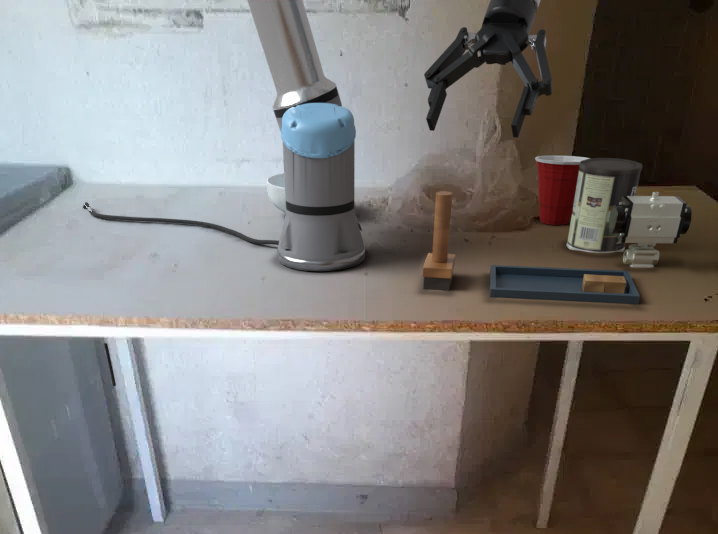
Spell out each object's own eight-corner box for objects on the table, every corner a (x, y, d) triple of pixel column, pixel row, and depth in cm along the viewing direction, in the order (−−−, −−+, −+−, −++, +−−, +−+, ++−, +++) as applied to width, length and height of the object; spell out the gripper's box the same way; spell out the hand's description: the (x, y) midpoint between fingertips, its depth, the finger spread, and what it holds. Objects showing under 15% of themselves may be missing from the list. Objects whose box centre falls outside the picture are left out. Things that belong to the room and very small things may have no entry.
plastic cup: (582, 215, 150) (593, 151, 143) (582, 230, 141) (594, 163, 134) (528, 212, 152) (536, 149, 145) (525, 226, 143) (534, 160, 136)
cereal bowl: (333, 229, 143) (333, 191, 139) (255, 222, 147) (253, 185, 143) (358, 207, 156) (359, 172, 152) (286, 202, 161) (284, 168, 156)
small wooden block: (603, 293, 111) (605, 281, 110) (601, 286, 114) (604, 275, 113) (623, 294, 111) (626, 282, 110) (621, 287, 113) (624, 276, 112)
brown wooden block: (583, 292, 112) (585, 280, 111) (581, 285, 114) (584, 274, 113) (603, 293, 111) (605, 281, 110) (601, 286, 114) (604, 275, 113)
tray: (489, 300, 111) (490, 289, 110) (489, 275, 120) (490, 264, 119) (637, 308, 108) (640, 296, 107) (625, 281, 117) (628, 270, 116)
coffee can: (621, 240, 135) (638, 158, 127) (627, 257, 127) (646, 170, 119) (564, 237, 137) (577, 156, 129) (566, 254, 129) (581, 168, 121)
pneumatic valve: (600, 262, 125) (614, 188, 118) (669, 263, 124) (688, 188, 117) (607, 273, 121) (623, 196, 114) (679, 274, 120) (700, 197, 113)
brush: (421, 292, 114) (426, 198, 106) (426, 277, 120) (432, 186, 112) (449, 294, 113) (457, 199, 105) (453, 278, 119) (460, 187, 111)
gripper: (594, 28, 113) (553, 151, 111) (443, 25, 122) (402, 137, 120) (593, -13, 106) (550, 116, 104) (433, -14, 115) (390, 105, 113)
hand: (471, 128), depth 112 cm, fingers open, 13 cm apart
